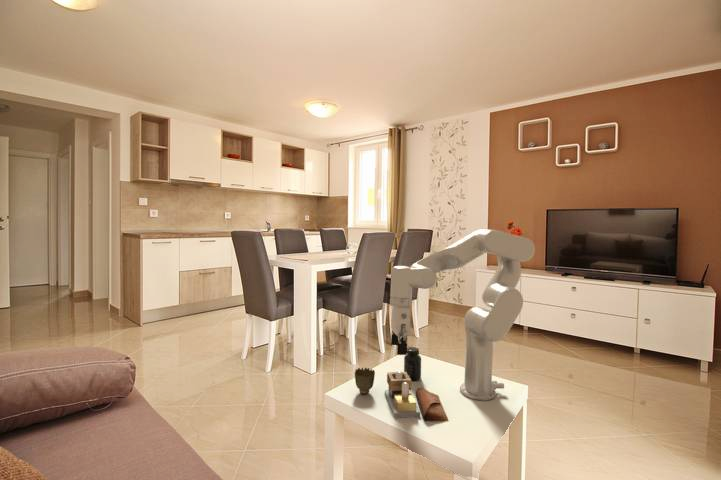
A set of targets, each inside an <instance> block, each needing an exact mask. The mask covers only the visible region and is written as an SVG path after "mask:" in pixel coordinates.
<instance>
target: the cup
mask: <svg viewBox="0 0 721 480" xmlns="http://www.w3.org/2000/svg"><path fill="white" fill-rule="evenodd" d="M375 375H376V371H375V370H374V369H372V368H369V367H368V368H367V367H365V368H364V367H362V368H359V367H358V368H356V369H355V370H354V379H355V380H354V381H355V385H356V388H357V389H358V390H359V391H358V392H359V393H360V395H368V394H369V393H370V390H371V389H372V388H373V386H374V383H375V382H374V381H375V377H376V376H375Z"/></svg>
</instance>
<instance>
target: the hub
mask: <svg viewBox="0 0 721 480" xmlns="http://www.w3.org/2000/svg"><path fill="white" fill-rule="evenodd" d="M409 393H410V390H409V384H408V383H406V382H404V383H403V384H402V394H394V404H395V407H396V409H397V411H398V412H416V405H417V401H416V399H415V397H414V395H413V393H410V394H409Z"/></svg>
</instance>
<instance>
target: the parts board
mask: <svg viewBox="0 0 721 480" xmlns="http://www.w3.org/2000/svg"><path fill="white" fill-rule="evenodd" d="M409 394H411V393H410V392H409ZM384 396H385V398H386V400H387V401H386V402H387V403H388V406H389V409H390V411H391V413H392V415H393V418H394V419H399V418H401V419H402V418H417V417H418V418H420V417H421V409H420V408H419V407H418V405H417V404H416V412H398V411H397V409H396V407H395V404H394V399H392V398H391V395H390V393H389V391H388V389H384Z"/></svg>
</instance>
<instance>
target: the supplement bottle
mask: <svg viewBox="0 0 721 480" xmlns="http://www.w3.org/2000/svg"><path fill="white" fill-rule="evenodd" d="M419 354H420V349H419V348H418V347H415V346H414V347H413V346H409V347H407V354H406V355H404V357H403V358H404V359H403V360H404V361H403V372H407V374H408V376H409V377H410V379H411V382H412V383H413V382H419V381H420V380H421V378H422V357H421V356H420V355H419Z"/></svg>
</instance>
